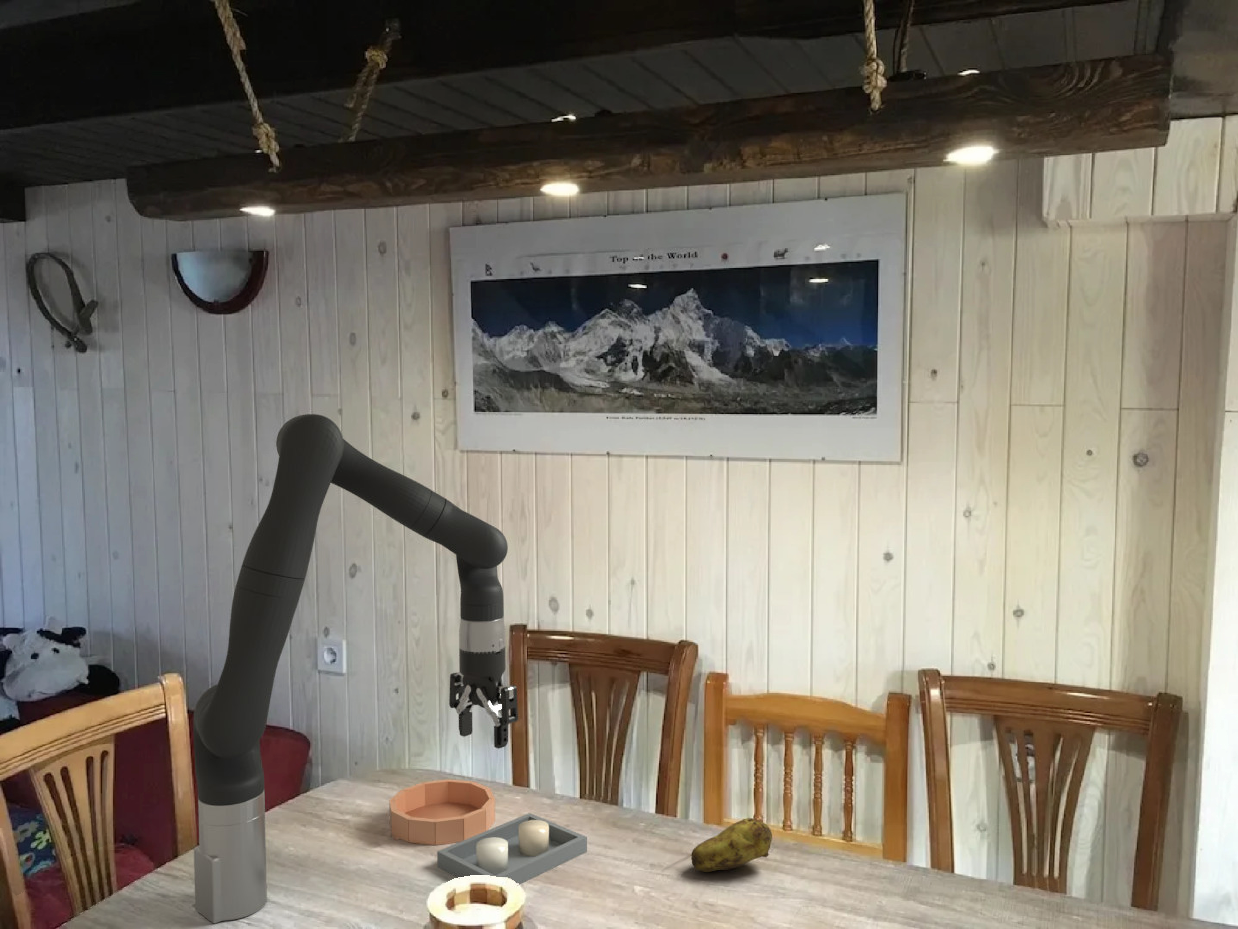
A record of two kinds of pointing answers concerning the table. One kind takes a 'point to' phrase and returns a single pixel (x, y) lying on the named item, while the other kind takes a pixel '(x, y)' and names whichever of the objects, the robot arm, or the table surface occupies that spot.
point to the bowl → (441, 812)
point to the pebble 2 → (533, 838)
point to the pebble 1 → (492, 855)
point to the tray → (514, 851)
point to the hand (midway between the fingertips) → (483, 741)
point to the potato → (733, 846)
